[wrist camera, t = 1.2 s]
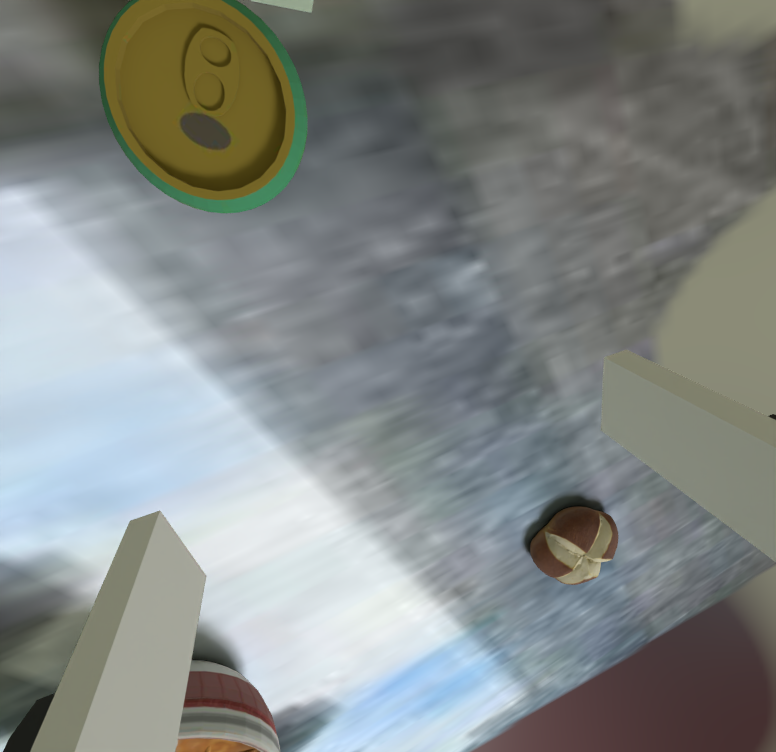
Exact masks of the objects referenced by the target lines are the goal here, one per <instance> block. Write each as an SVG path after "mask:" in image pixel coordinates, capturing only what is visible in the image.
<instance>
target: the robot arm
mask: <svg viewBox="0 0 776 752" xmlns="http://www.w3.org/2000/svg"><path fill="white" fill-rule="evenodd" d="M601 431H603V432H604V433H605V434H607V435H608V436H609V437H611V438H612V439H613V440H615V441H616V442H617V443H619V444H620V445H621V446H623V447H624V448H625V449H626V450H628V451H629V452H630V453H632V454H633V455H634V456H636V457H637V458H638V459H640V460H641V461H642V462H644V463H645V464H646V465H648V466H649V467H650V468H652V469H653V470H654V471H656V472H657V473H658V474H660V475H661V476H662V477H664V478H665V479H666V480H668V481H669V482H670V483H672V484H673V485H674V486H676V487H677V488H678V489H680V490H681V491H682V492H684V493H685V494H686V495H688V496H689V497H690V498H692V499H693V500H694V501H695V502H697V503H698V504H699V505H701V506H702V507H703V508H705V509H706V510H707V511H709V512H710V513H711V514H713V515H714V516H715V517H717V518H718V519H719V520H721V521H722V522H723V523H725V524H726V525H727V526H729V527H730V528H731V529H733V530H734V531H735V532H737V533H738V534H739V535H741V536H742V537H743V538H745V539H746V540H747V541H749V542H750V543H751V544H753V545H754V546H755V547H757V548H758V549H759V550H761V551H762V552H763V553H764V554H766V555H767V556H768V557H770V558H771V559H772V560H774V561H775V562H776V415H774V414H772V415H770V416H766V415H764V414H762V413H760V412H758V411H755V410H753V409H751V408H749V407H747V406H745V405H743V404H740V403H738V402H736V401H734V400H732V399H730V398H728V397H726V396H723V395H721V394H719V393H717V392H715V391H713V390H710V389H708V388H706V387H704V386H702V385H700V384H698V383H696V382H694V381H691V380H689V379H687V378H685V377H683V376H681V375H679V374H677V373H675V372H672V371H670V370H668V369H666V368H664V367H662V366H660V365H658V364H655V363H653V362H651V361H649V360H647V359H645V358H643V357H641V356H638V355H636V354H634V353H632V352H630V351H628V350H624V351H621V352H619V353H616V354H613V355H610V356H607V357H604V369H603V392H602V416H601ZM205 580H206V575H205V573H204V572H203V571H202V569H201V568H200V566H199V565H198V563H197V562H196V561H195V559H194V558H193V556H192V555H191V554H190V552H189V551H188V549H187V548H186V546H185V545H184V544H183V542H182V541H181V539H180V538H179V537H178V535H177V534H176V532H175V531H174V530H173V528H172V527H171V525H170V524H169V522H168V521H167V520H166V518H165V517H164V515H163V514H162V513H161V511H157V512H154V513H152V514H149V515H146V516H143V517H140V518H137V519H134V520H131V521H130V522H129V524H128V527H127V529H126V531H125V534H124V536H123V538H122V541H121V543H120V545H119V548H118V550H117V552H116V554H115V557H114V559H113V561H112V564H111V566H110V568H109V571H108V573H107V575H106V578H105V580H104V582H103V584H102V587H101V589H100V591H99V594H98V596H97V598H96V601H95V603H94V605H93V608H92V610H91V612H90V615H89V617H88V619H87V621H86V624H85V626H84V628H83V631H82V633H81V635H80V638H79V640H78V642H77V645H76V647H75V649H74V652H73V654H72V656H71V658H70V661H69V663H68V665H67V668H66V670H65V672H64V675H63V677H62V679H61V682H60V684H59V686H58V689H57V691H56V693H55V694H52V695H49V696H47V697H44V698H42V699H39V700H37V701H36V702H35V704H34V705H33V707H32V708H31V709H30V711H29V712H28V713H27V715H26V716H25V718H24V719H23V720H22V722H21V723H20V724H19V726H18V727H17V728H16V730H15V731H14V733H13V734H12V735H11V737H10V738H9V740H8V742H7V744H6V746H5V749H4V751H3V752H175V750H176V745H177V739H178V733H179V728H180V722H181V716H182V711H183V705H184V699H185V694H186V688H187V682H188V677H189V671H190V665H191V660H192V654H193V648H194V643H195V637H196V631H197V626H198V620H199V614H200V609H201V603H202V597H203V592H204V586H205Z"/></svg>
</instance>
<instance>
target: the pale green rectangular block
mask: <svg viewBox="0 0 776 752" xmlns="http://www.w3.org/2000/svg"><path fill="white" fill-rule="evenodd" d="M251 1H254V2H259V3H264V4H269V5H274V6H279V7H284V8H289V9H294V10H300V11H305V12H310V13H311V11H312V6H313V1H314V0H251Z"/></svg>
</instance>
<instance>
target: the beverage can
mask: <svg viewBox="0 0 776 752" xmlns="http://www.w3.org/2000/svg"><path fill="white" fill-rule="evenodd" d="M99 85H100V91H101V98H102V103H103V107H104V110H105V113H106V117H107V120H108V123H109V125H110V127H111V129H112V131H113V134H114V136H115V138H116V140H117V142H118V143H119V145H120V146H121V148H122V150H123V151H124V153H125V155H126V156H127V157H128V158H129V160H130V161H131V162H132V163H133V165H134V166H135V167H136V168H137V170H138V171H139V172H140V173H141V174H142V175H143V176H144V177H145V178H146V179H147V180H148V181H149V182H151V183H152V184H153V185H154V186H156V187H157V188H158V189H160V190H161V191H162V192H164V193H165V194H167V195H168V196H170V197H172V198H174V199H175V200H177V201H179V202H181V203H183V204H186V205H188V206H191V207H193V208H196V209H200V210H204V211H208V212H217V213H236V212H242V211H246V210H251V209H253V208H256V207H258V206H261V205H263V204H265V203H266V202H268V201H269V200H271V199H272V198H274V197H275V196H277V195H278V194H279V193H280V192H281V191H282V190H283V189H284V188H285V187H286V186H287V184H288V183H289V181H290V180H291V179H292V177H293V176H294V174H295V172H296V170H297V168H298V166H299V164H300V162H301V159H302V155H303V152H304V149H305V143H306V137H307V111H306V102H305V97H304V93H303V89H302V85H301V82H300V79H299V77H298V74H297V71H296V69H295V66H294V64H293V62H292V61H291V59H290V57H289V55H288V53H287V51H286V49H285V48H284V47H283V45H282V44H281V42H280V41H279V40H278V38H277V37H276V35H275V34H274V33H273V32H272V30H271V29H270V28H269V27H268V26H267V25H266V24H265V23H264V22H263V21H262V20H261V19H260V18H259V17H258V16H257V15H256V14H254V13H253V12H252V11H251V10H250V9H248V8H247V7H246V6H244V5H243V4H241V3H239V2H238V1H236V0H131V1H130V2H128V3H127V4H126V6H125V7H124V8H123V9H122V10H121V11H120V12H119V13H118V14H117V16H116V17H115V19H114V21H113V22H112V24H111V26H110V27H109V29H108V31H107V34H106V37H105V40H104V43H103V45H102V50H101V57H100V63H99Z"/></svg>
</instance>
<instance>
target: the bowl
mask: <svg viewBox="0 0 776 752" xmlns="http://www.w3.org/2000/svg"><path fill="white" fill-rule="evenodd" d="M175 752H280V746H279V741H278V736H277V734H276V729H275V725H274V722H273V718H272V715H271V713H270V711H269V709H268V707H267V705H266V704H265V702H264V700H263V698H262V696H261V695H260V693H259V692H258V690H257V689H256V688H255V687H254V686H253V685H252V684H251V683H250V682H249V681H248V680H247V679H246V678H245V677H244V676H242V675H241V674H240V673H239V672H237V671H235V670H233V669H230V668H228V667H226V666H223V665H220V664H217V663H213V662H210V661H201V660H191V665H190V671H189V677H188V682H187V688H186V694H185V699H184V705H183V711H182V716H181V722H180V728H179V733H178V739H177V745H176V750H175Z"/></svg>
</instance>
